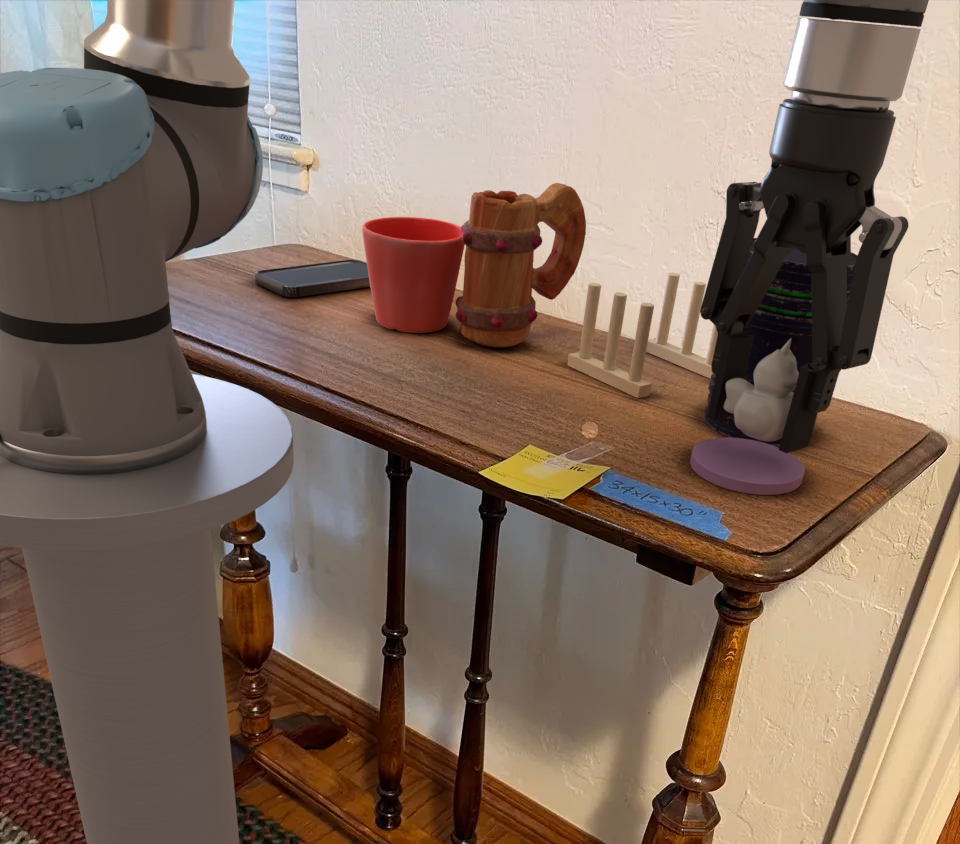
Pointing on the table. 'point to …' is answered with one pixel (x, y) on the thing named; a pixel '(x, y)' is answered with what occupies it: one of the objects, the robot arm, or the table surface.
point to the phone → (315, 278)
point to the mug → (515, 260)
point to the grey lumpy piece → (764, 396)
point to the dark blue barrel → (779, 326)
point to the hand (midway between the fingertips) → (756, 431)
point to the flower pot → (412, 271)
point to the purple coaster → (747, 466)
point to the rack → (642, 339)
